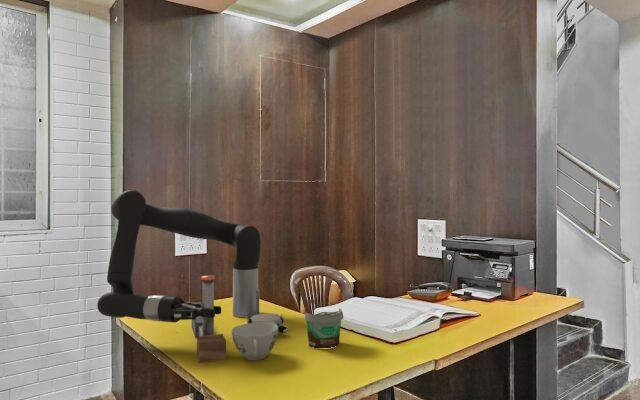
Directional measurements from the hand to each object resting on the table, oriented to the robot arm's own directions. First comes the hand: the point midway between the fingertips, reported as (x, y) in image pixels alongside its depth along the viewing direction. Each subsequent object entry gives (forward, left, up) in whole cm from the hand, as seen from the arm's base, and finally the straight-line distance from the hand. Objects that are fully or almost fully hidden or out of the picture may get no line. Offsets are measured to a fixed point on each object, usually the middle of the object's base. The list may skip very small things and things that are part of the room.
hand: (217, 311), depth 130 cm
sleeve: (+2, -21, -11) cm, 23 cm away
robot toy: (-18, -12, -11) cm, 24 cm away
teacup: (-9, +10, -11) cm, 17 cm away
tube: (+2, -7, -10) cm, 12 cm away
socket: (+2, +5, -11) cm, 12 cm away
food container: (-31, +8, -11) cm, 34 cm away
